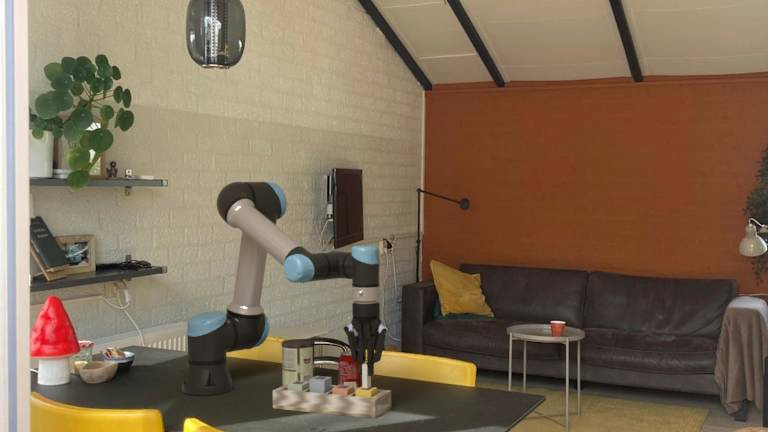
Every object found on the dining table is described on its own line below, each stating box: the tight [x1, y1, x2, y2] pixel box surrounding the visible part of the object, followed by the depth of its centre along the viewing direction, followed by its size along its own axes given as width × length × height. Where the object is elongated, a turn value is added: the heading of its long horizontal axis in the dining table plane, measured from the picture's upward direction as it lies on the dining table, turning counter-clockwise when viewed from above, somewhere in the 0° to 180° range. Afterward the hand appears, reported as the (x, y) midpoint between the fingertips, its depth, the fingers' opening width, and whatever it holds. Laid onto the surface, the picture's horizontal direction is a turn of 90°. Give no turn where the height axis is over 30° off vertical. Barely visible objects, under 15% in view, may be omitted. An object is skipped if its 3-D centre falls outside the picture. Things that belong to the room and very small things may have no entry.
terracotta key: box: [332, 384, 354, 396], centre depth 235 cm, size 5×5×5 cm
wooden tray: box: [272, 383, 392, 420], centre depth 237 cm, size 31×12×5 cm, turn 68°
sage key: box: [287, 381, 309, 391], centre depth 241 cm, size 5×5×5 cm
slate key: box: [310, 375, 333, 393], centre depth 238 cm, size 5×5×5 cm
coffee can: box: [281, 338, 316, 386], centre depth 263 cm, size 10×10×14 cm
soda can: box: [338, 350, 362, 388], centre depth 255 cm, size 7×7×12 cm
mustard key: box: [355, 386, 378, 398], centre depth 233 cm, size 5×5×5 cm
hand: (366, 387), depth 233 cm, fingers closed
